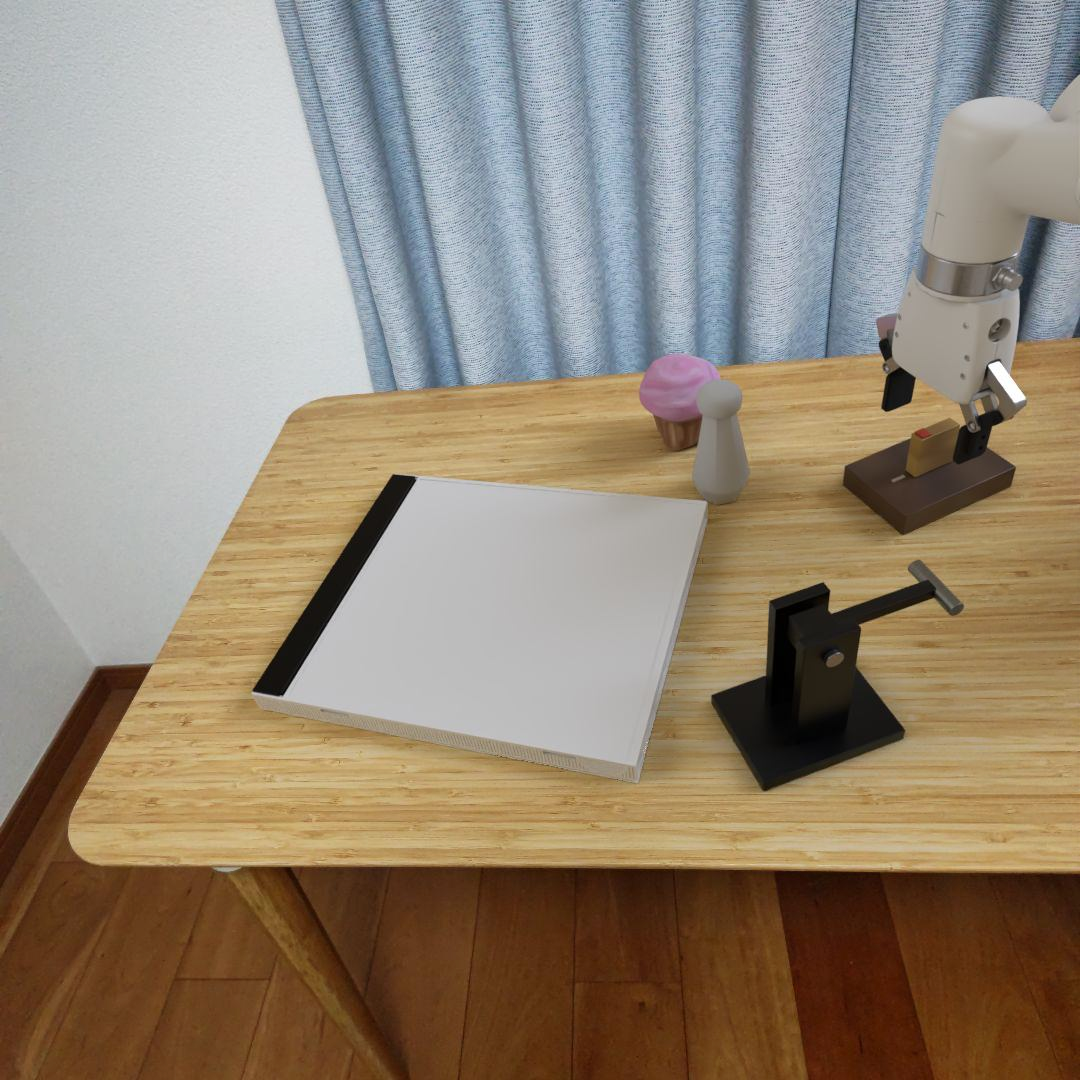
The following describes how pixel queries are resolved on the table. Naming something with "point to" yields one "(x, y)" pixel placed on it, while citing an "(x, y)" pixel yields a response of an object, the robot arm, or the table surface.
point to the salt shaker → (720, 444)
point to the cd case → (498, 622)
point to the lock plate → (923, 485)
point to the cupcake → (676, 396)
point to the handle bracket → (805, 700)
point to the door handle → (876, 605)
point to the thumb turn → (932, 447)
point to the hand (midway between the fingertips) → (930, 431)
